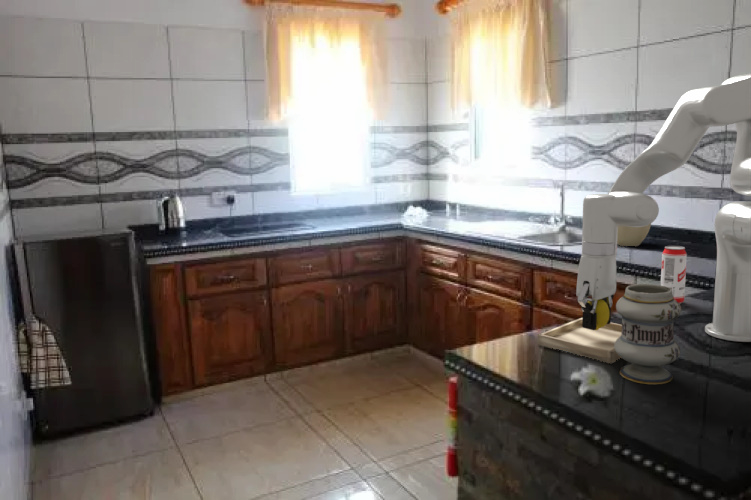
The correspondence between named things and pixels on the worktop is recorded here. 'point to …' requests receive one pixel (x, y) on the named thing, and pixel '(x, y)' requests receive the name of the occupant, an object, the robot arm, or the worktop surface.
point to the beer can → (674, 271)
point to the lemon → (601, 313)
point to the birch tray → (584, 340)
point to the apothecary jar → (647, 333)
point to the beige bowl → (631, 235)
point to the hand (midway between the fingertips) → (596, 324)
